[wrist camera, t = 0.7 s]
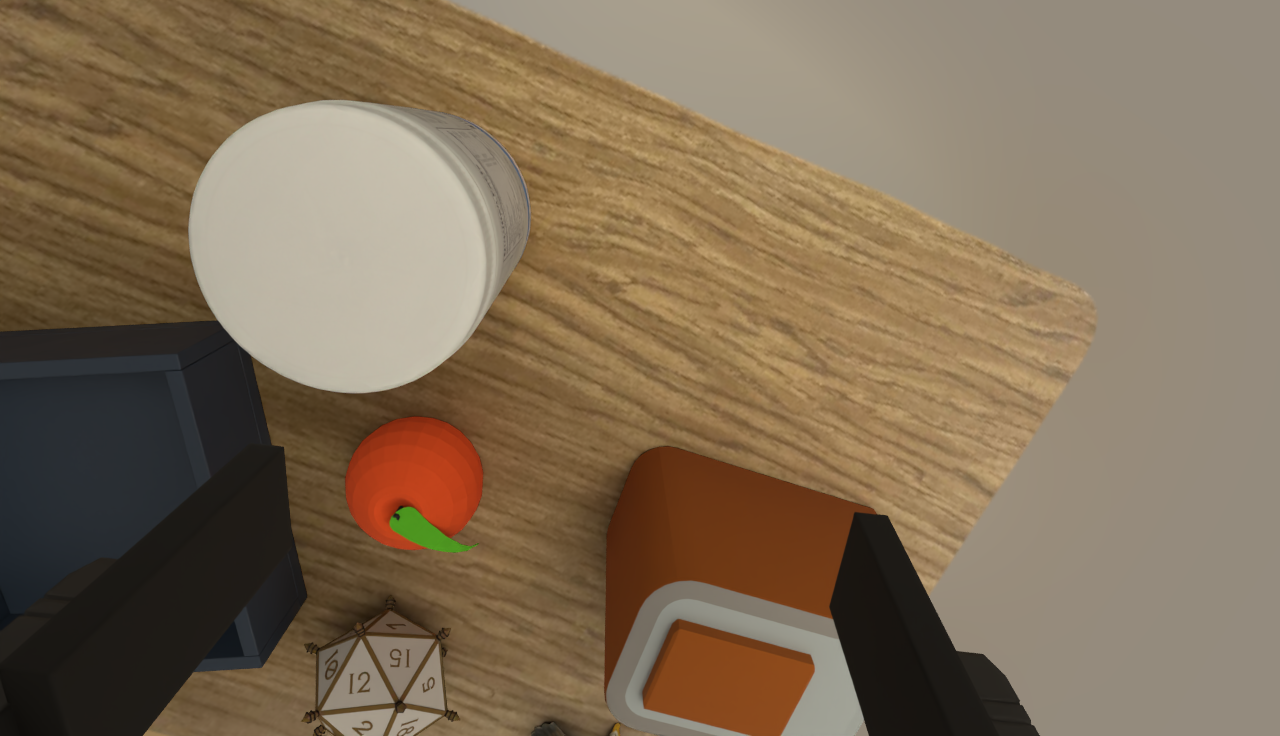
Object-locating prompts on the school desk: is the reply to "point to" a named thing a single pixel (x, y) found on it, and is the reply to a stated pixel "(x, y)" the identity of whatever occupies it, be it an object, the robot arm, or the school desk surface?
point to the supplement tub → (356, 239)
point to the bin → (124, 457)
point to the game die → (380, 679)
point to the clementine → (415, 484)
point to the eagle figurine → (552, 732)
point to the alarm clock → (725, 603)
